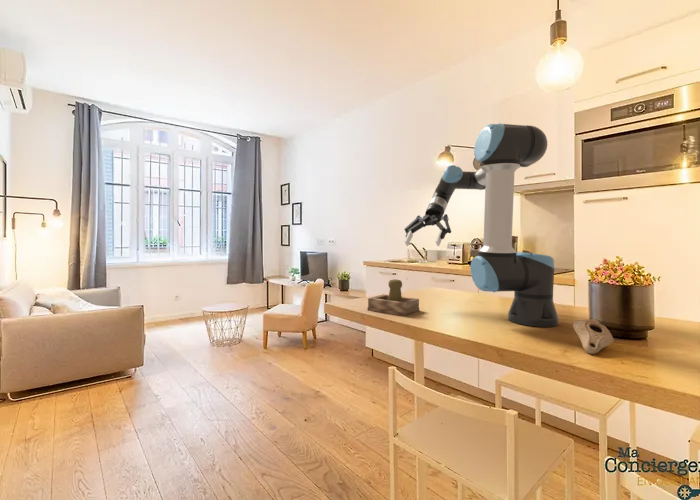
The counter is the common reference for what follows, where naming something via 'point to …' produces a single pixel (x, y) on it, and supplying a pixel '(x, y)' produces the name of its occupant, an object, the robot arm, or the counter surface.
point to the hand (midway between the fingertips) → (421, 243)
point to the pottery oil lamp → (592, 335)
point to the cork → (395, 290)
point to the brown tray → (393, 305)
